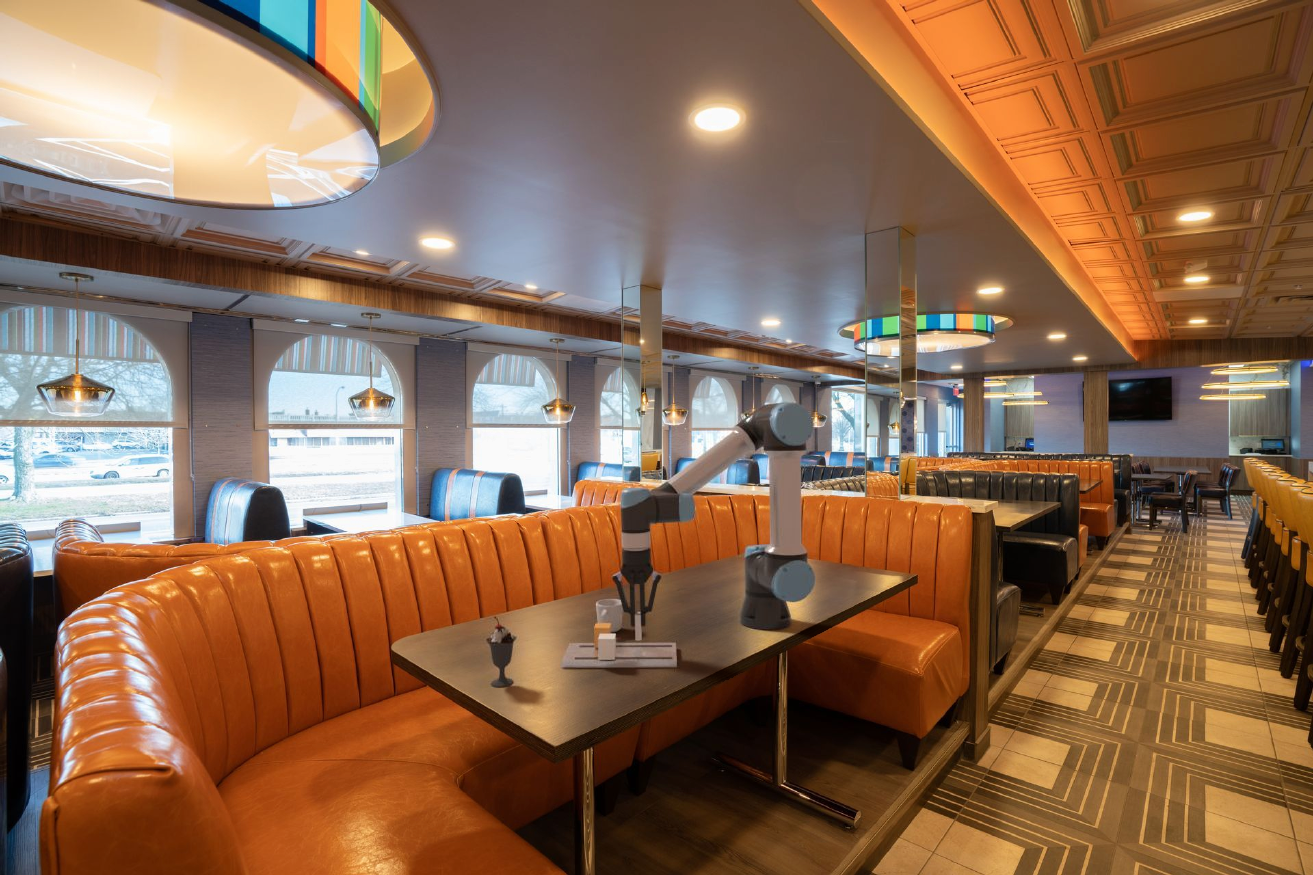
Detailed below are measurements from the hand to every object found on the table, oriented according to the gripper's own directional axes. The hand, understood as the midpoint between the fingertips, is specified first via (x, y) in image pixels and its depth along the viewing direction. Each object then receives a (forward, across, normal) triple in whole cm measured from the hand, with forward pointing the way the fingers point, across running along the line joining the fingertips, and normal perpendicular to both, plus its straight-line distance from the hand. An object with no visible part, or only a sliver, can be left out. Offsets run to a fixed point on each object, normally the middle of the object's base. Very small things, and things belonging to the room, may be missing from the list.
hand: (638, 638), depth 158 cm
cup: (+4, +9, -16) cm, 19 cm away
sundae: (+3, +30, +20) cm, 36 cm away
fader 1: (+1, +9, 0) cm, 9 cm away
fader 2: (+1, +7, +9) cm, 11 cm away
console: (+3, +4, +4) cm, 7 cm away
